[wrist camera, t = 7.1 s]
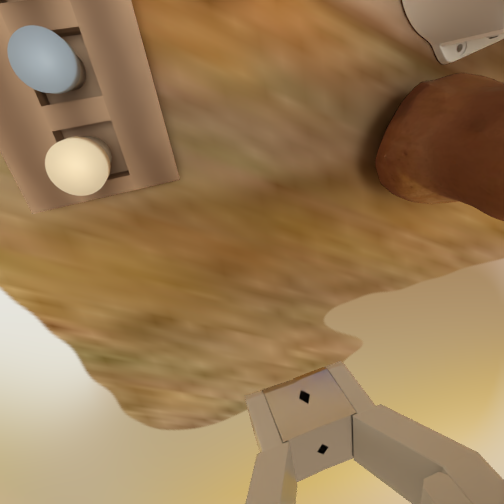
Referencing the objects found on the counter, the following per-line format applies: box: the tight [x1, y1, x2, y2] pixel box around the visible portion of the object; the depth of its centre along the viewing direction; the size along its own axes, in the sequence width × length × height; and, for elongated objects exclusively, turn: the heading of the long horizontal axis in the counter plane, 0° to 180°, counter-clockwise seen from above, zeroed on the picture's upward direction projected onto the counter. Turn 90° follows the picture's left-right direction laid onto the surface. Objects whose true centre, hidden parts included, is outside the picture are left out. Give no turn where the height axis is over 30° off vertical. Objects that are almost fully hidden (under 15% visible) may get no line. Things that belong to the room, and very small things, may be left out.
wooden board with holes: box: [0, 0, 180, 214], centre depth 28 cm, size 14×22×4 cm, turn 11°
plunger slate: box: [7, 25, 86, 94], centre depth 25 cm, size 4×4×7 cm
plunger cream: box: [45, 136, 112, 196], centre depth 26 cm, size 4×4×7 cm
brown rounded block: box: [375, 73, 504, 221], centre depth 31 cm, size 14×13×25 cm
